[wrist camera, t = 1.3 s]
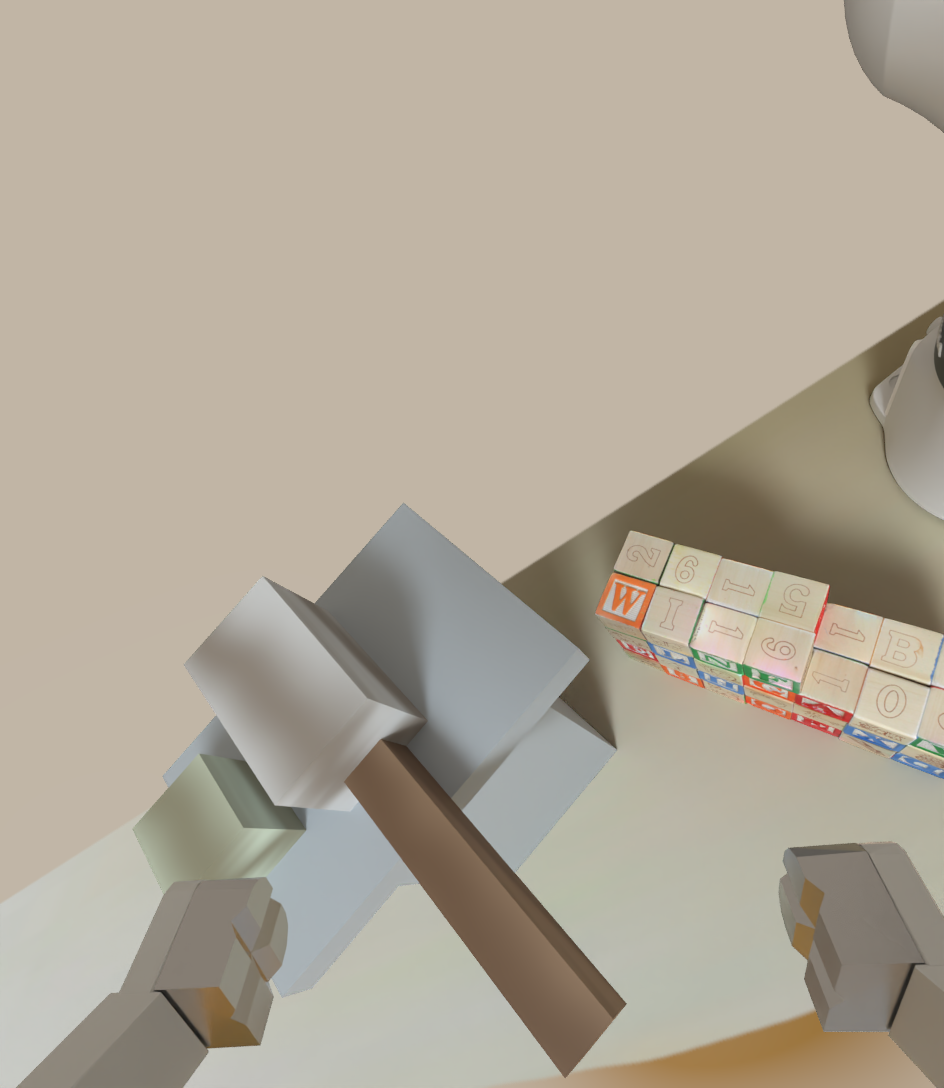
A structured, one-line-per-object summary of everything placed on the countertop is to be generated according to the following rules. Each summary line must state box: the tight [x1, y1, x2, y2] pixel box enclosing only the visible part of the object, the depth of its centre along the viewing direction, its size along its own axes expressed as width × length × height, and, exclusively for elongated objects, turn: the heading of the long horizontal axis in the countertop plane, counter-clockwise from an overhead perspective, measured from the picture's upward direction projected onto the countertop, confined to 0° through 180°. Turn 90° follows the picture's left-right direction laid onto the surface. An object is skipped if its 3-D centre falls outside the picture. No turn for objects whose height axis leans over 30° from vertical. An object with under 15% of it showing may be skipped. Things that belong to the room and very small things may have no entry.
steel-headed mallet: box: [184, 576, 626, 1078], centre depth 24 cm, size 5×20×5 cm, turn 45°
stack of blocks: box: [595, 531, 944, 779], centre depth 42 cm, size 21×6×12 cm, turn 63°
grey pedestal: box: [163, 503, 617, 998], centre depth 40 cm, size 18×12×26 cm, turn 135°
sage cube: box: [133, 754, 306, 894], centre depth 27 cm, size 4×4×4 cm
